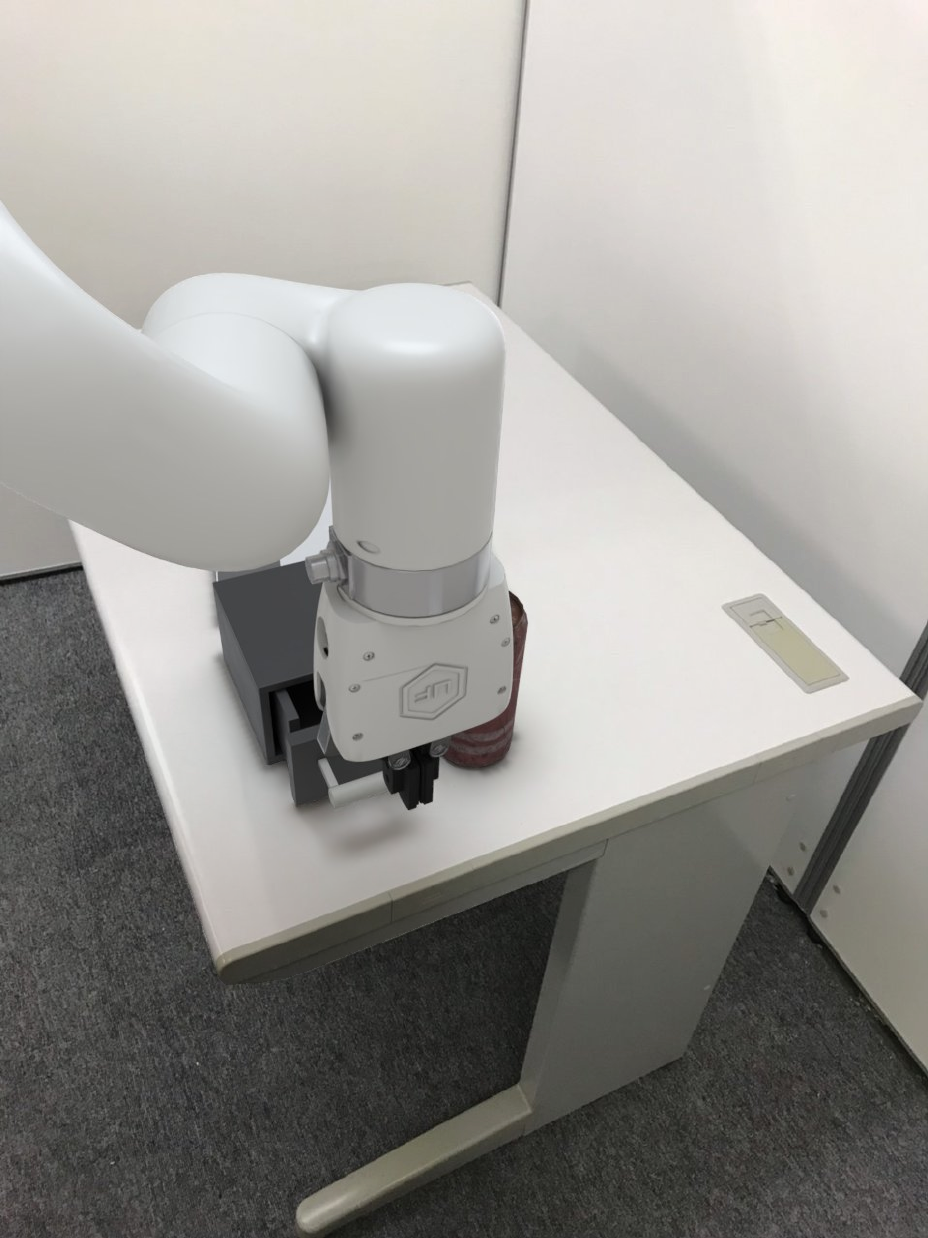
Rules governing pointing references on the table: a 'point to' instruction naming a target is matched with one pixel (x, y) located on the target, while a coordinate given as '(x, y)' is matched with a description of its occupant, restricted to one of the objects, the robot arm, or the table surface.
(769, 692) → the table surface
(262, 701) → the dark grey cabinet
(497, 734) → the can
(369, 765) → the drawer
